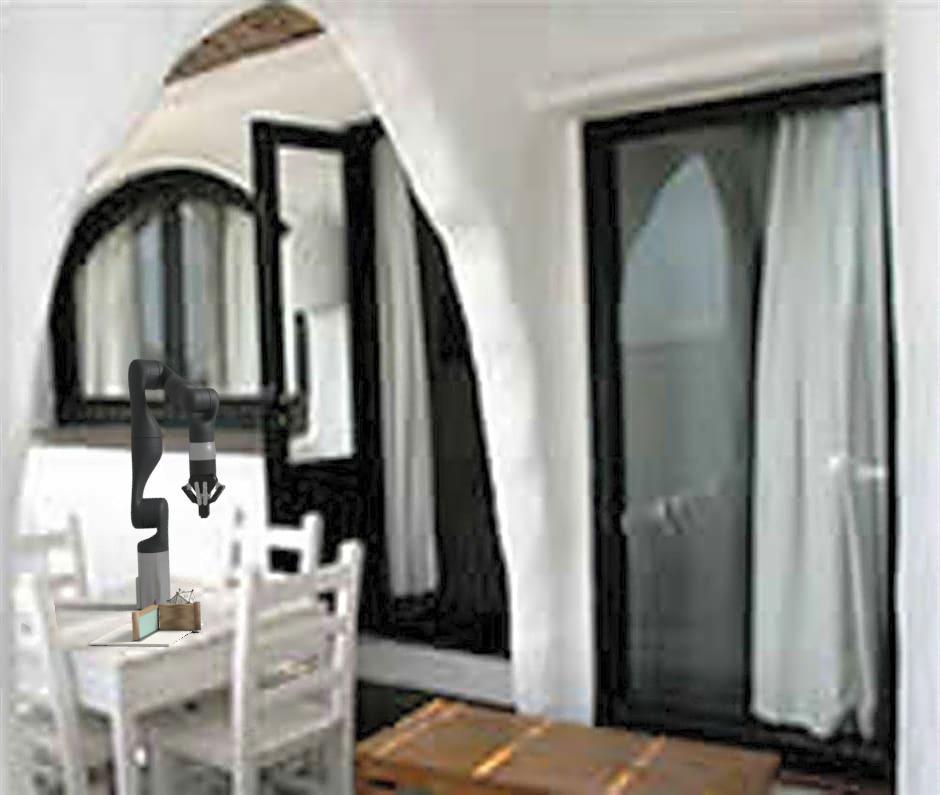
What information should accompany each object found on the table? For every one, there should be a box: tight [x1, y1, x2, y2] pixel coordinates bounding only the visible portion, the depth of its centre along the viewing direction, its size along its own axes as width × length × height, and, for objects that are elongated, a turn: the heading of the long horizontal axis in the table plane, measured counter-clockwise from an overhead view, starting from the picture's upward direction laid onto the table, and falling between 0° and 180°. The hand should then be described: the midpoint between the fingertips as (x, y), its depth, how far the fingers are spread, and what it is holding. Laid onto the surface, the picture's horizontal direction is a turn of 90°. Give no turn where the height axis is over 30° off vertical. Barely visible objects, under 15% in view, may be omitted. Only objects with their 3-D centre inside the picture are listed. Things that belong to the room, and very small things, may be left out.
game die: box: [166, 588, 202, 607], centre depth 339 cm, size 9×8×10 cm
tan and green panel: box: [131, 605, 158, 640], centre depth 313 cm, size 13×2×7 cm, turn 170°
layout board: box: [88, 622, 204, 647], centre depth 317 cm, size 24×24×1 cm
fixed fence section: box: [154, 600, 202, 632], centre depth 319 cm, size 13×2×8 cm, turn 82°
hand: (204, 517), depth 335 cm, fingers closed
